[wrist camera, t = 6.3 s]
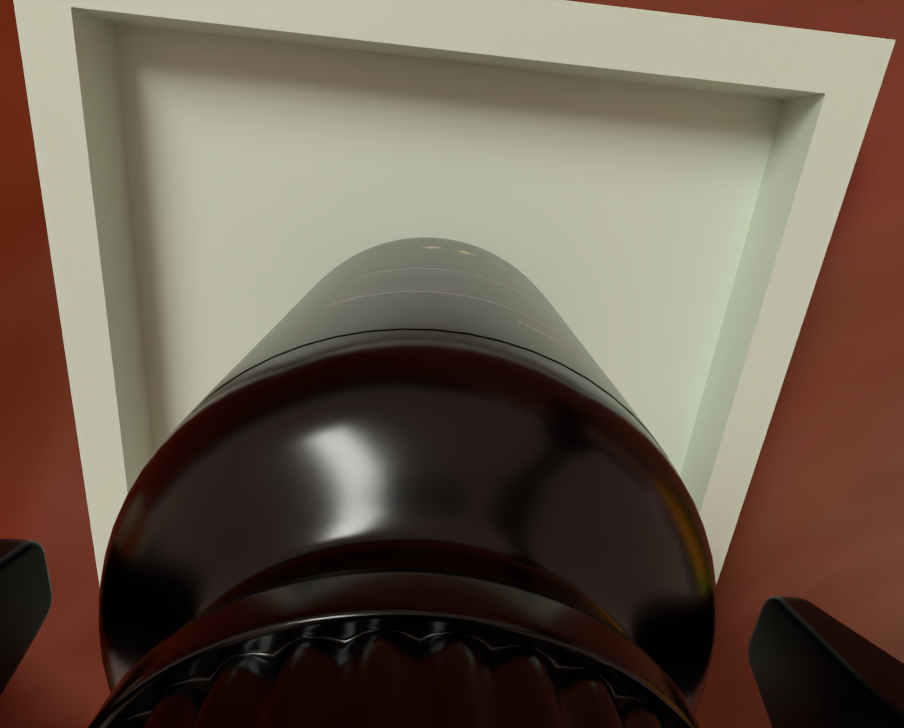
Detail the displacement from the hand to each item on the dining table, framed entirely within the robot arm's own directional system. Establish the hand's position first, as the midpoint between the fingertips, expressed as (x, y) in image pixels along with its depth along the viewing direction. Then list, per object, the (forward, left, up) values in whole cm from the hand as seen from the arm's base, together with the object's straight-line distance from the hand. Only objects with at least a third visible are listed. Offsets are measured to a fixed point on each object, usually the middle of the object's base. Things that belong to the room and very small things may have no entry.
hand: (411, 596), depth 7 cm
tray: (0, 0, -8) cm, 8 cm away
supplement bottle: (0, 0, -8) cm, 8 cm away
